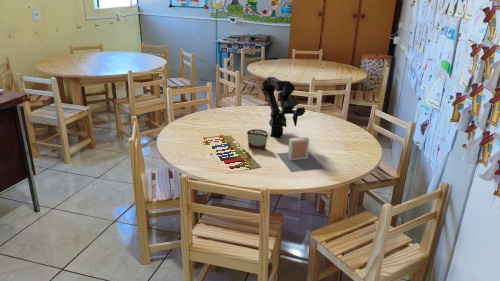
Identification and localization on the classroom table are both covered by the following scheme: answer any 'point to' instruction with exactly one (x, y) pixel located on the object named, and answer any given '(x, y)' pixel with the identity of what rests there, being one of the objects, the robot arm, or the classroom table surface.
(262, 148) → the food container
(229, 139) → the multicolored flat board
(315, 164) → the felt mat
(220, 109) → the classroom table surface
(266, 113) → the classroom table surface
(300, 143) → the picture tile
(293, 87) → the robot arm
